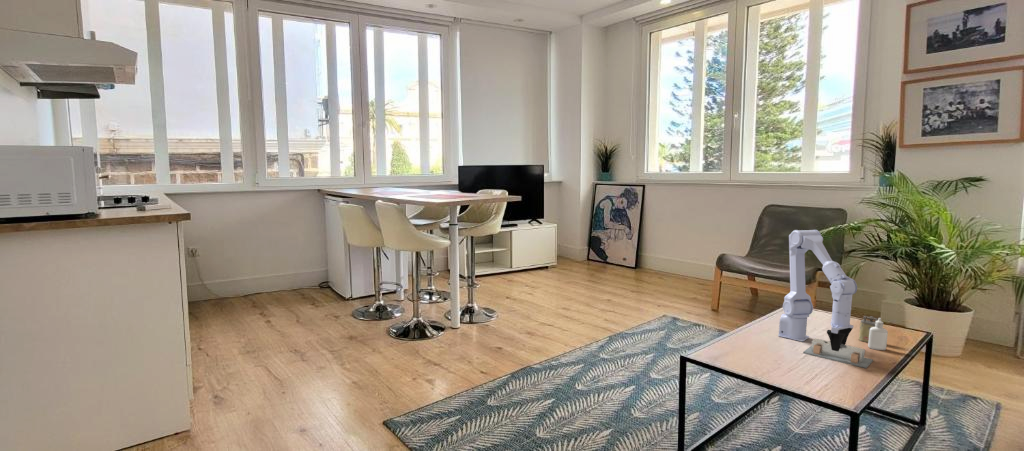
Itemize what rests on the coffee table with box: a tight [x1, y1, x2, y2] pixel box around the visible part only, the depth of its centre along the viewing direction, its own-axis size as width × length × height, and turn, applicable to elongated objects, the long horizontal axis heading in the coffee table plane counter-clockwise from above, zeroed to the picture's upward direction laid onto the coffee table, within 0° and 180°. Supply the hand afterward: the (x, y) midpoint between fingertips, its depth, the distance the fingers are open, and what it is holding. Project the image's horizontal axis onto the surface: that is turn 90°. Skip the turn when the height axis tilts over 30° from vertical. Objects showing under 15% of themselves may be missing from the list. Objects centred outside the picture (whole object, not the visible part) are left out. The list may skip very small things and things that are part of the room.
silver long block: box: [811, 338, 866, 363], centre depth 194 cm, size 16×4×4 cm, turn 45°
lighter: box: [858, 315, 879, 343], centre depth 210 cm, size 7×4×10 cm, turn 48°
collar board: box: [802, 345, 874, 369], centre depth 194 cm, size 20×10×4 cm, turn 45°
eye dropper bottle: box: [867, 317, 889, 351], centre depth 202 cm, size 4×6×12 cm
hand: (838, 347), depth 193 cm, fingers open, 7 cm apart
